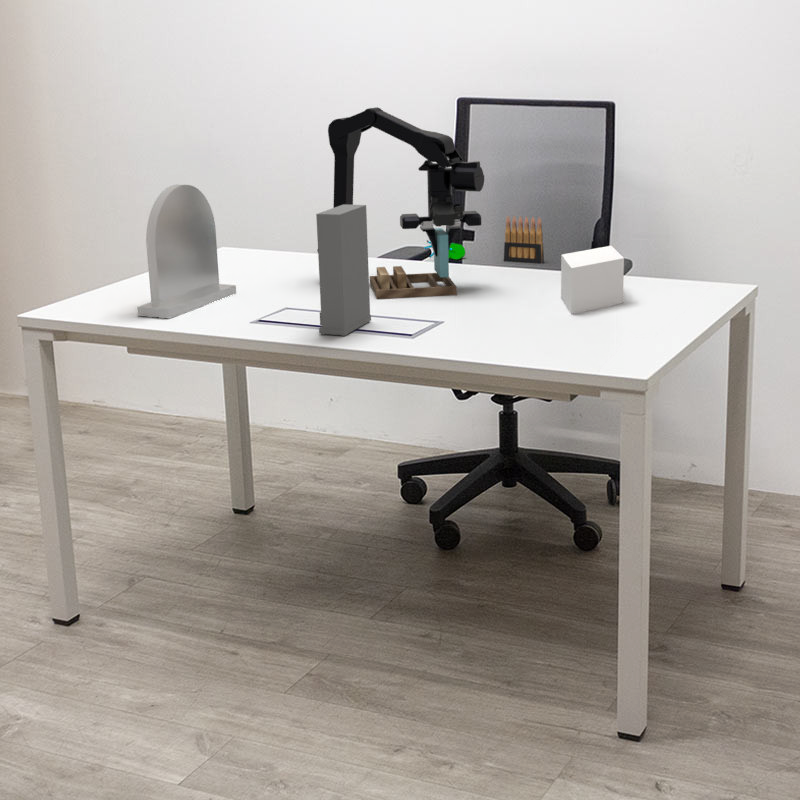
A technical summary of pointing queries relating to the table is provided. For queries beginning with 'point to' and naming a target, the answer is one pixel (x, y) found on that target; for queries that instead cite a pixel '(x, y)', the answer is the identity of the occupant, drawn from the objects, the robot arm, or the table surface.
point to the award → (182, 254)
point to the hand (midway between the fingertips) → (441, 256)
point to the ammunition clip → (523, 242)
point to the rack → (415, 292)
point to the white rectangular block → (592, 279)
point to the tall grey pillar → (343, 269)
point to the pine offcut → (382, 278)
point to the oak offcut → (399, 277)
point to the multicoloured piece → (452, 251)
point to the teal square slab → (441, 253)
